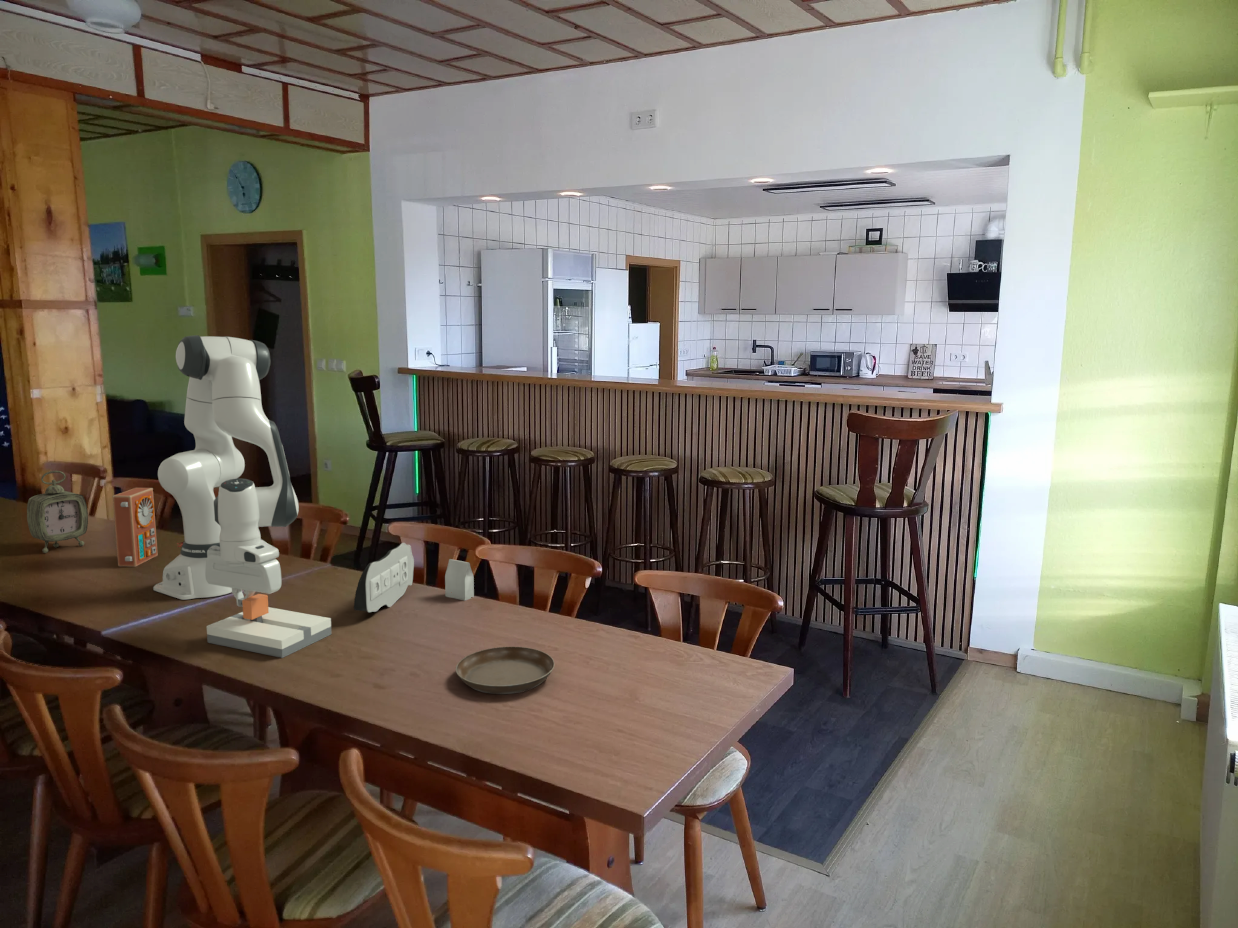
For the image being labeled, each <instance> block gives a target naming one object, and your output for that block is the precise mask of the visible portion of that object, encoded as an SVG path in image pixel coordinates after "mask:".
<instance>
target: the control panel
mask: <svg viewBox="0 0 1238 928" xmlns="http://www.w3.org/2000/svg"><path fill="white" fill-rule="evenodd" d="M153 490H154V488H153V487H133V488H132V489H129V490H128V489H127V490H126V491H123V492H120V493H117V494H114V495H112V506H113V517H114V519H113V520H114V530H115V532H114V533H115V543H116V555H117V556H116V557H117V566H118V567H125V568H126V567H131V568H132V567H133V568H135V567H139V566H140V565H142V564H144V563H146V562H147V561H149V560H152V559H153V558H156V557H158V541H157V529H156V516H155V512H156V511H155V500H154V491H153Z"/></svg>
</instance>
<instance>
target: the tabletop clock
mask: <svg viewBox="0 0 1238 928" xmlns="http://www.w3.org/2000/svg"><path fill="white" fill-rule="evenodd" d="M49 474H61V475H62V476H63V478H61V480H58V481H57V480H56V479H52V480H51V482H50V481H48V482H47V481H44V478H45V476H47V475H49ZM66 477H67V476H66V474H65V473H64V472H63V471H62V470H61V471H60V470H50V471H47V472H45V473H44V474H43V475H42V476H41V479H40V480H41V482H42V483H43V484H45V485H48V486H47V488H46V489H45V491H44V493H40V494H37V495H34V496H31V497H30V498H29V499H28V501H27V504H26V520H27V526H28V530H29V532H30V533H29V534H30V535H31V536H32V538H35V539H37V540H41V541H44V548H42V550H41V551H42V553H43V554H47V553H48V552H49V548H48V545H49V542H51V543H52V542H54V543H53V544H52V547H54V548H55V549H56V548H59V546H60V544H59V542H61V541H69V540H70V539H75V541H77V542H78V546H80V547H83V546H84V545H85V541H83V540H80V538H79V537H82V536H83V535H85V534H86V533H87V531H88V527H89V514H88V513H89V512H88V506H87V503H86V502H87V501H86V499H85V497H84V495H82V494H79V493H75V492H71V491H66V490H65V489H64V488H63V486H62V485H59V484H61V483H63V482H64V481H65V479H66Z"/></svg>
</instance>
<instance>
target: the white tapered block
mask: <svg viewBox="0 0 1238 928" xmlns="http://www.w3.org/2000/svg"><path fill="white" fill-rule="evenodd" d="M474 576H475V575H474V574H473V570H472V568H471V563H470V562H467V561H462V560H457V559H453V558H452V559H451V558H449V559H448V564H447V567H446V571H445V575H444V585H445V589H444V590H445V591H444V593H445V596H444V597H446V598H450V599H451V598H452V599H454V600H460V601H468V600H470V599H472V598H471V597H473V598H474V597H475V589H474V587H475V585H474V584H475V582H474V581H475V580H474V579H475V578H474ZM451 592H452V593H451Z"/></svg>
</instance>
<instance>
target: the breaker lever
mask: <svg viewBox="0 0 1238 928" xmlns="http://www.w3.org/2000/svg"><path fill="white" fill-rule="evenodd" d="M268 595H269V594H265V593H257V594H254V595H253V596H251V597H249V598H246V599H243V600H242V604H243V607H242V612H243V618H245V619H250V621H254V622H260V623H262V615H265V614H267V613H269V611H268V607H269V596H268Z"/></svg>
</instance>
